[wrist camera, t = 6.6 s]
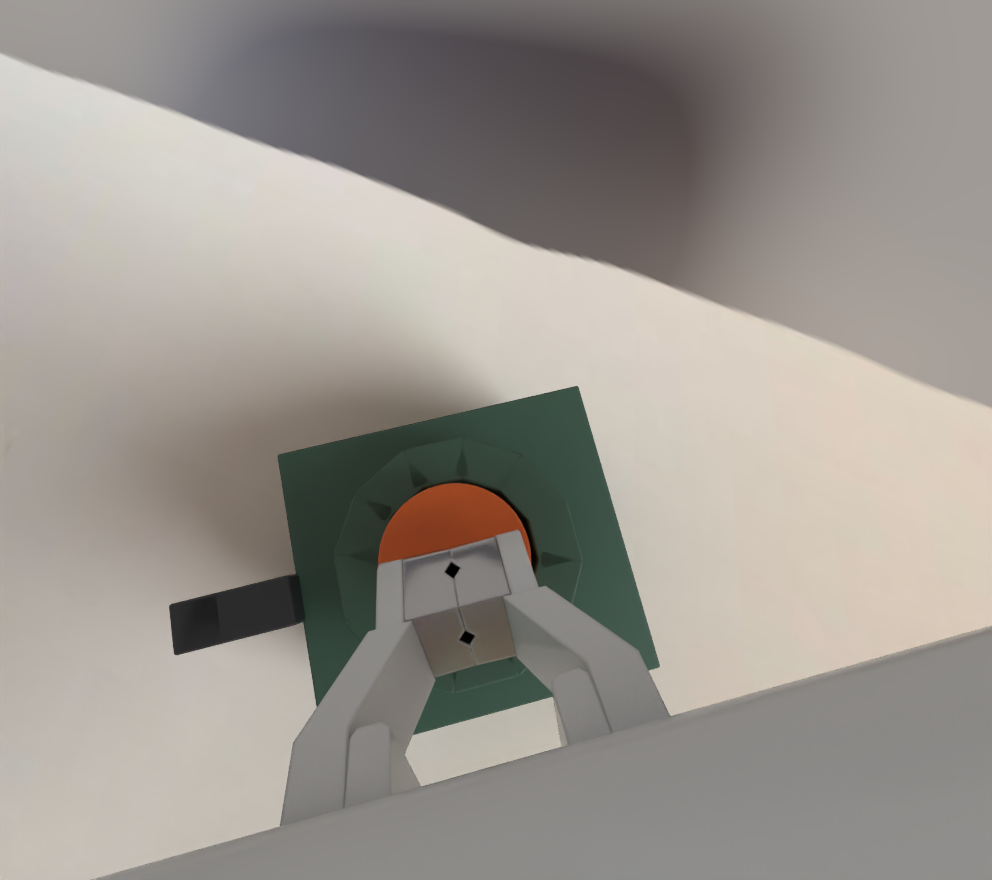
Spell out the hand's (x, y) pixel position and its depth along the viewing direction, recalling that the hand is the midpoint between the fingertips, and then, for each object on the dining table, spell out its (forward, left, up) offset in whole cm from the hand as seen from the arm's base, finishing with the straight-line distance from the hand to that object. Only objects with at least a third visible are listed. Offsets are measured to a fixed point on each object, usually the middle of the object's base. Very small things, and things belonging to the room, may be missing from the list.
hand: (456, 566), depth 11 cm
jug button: (0, 0, -3) cm, 3 cm away
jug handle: (-5, -5, -11) cm, 13 cm away
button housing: (0, 0, -13) cm, 13 cm away
